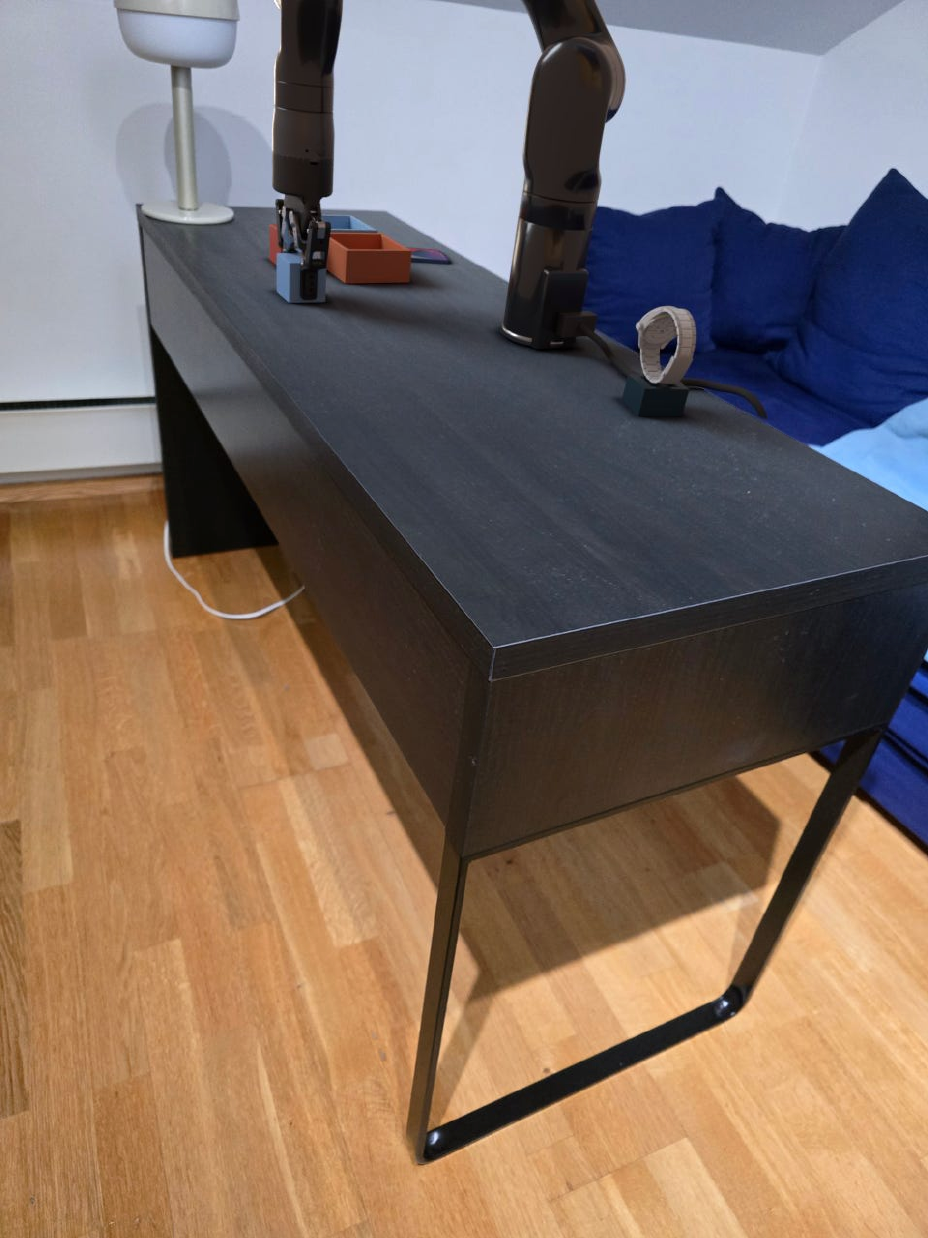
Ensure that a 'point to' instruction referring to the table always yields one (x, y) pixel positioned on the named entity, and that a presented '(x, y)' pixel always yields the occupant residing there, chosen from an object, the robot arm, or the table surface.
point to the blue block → (295, 279)
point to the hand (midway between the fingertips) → (301, 292)
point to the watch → (655, 387)
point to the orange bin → (368, 258)
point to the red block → (274, 244)
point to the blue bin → (347, 224)
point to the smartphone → (428, 256)
